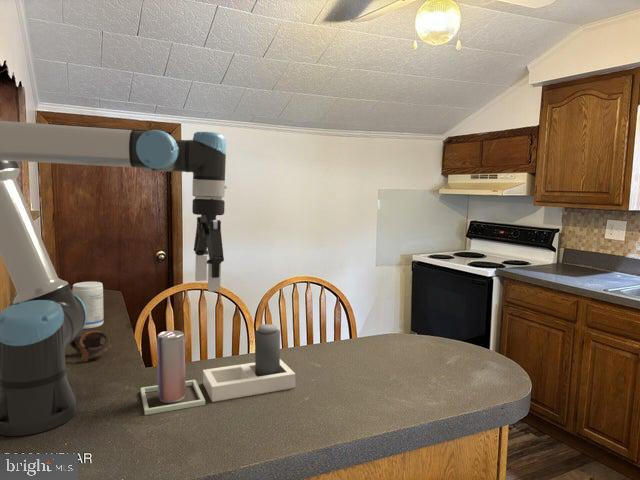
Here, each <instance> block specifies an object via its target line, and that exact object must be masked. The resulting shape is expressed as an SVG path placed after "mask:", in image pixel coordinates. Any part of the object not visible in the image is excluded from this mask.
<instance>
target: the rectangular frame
mask: <svg viewBox="0 0 640 480" xmlns="http://www.w3.org/2000/svg"><path fill="white" fill-rule="evenodd" d="M185 384H186V387H190V386H192V387H193V389H194V391H195V394H196V396H197V398H198V399H196V400H189V401H183V402H176V403H170V404H166V405H160V406H155V407H149V404H148V400H147V393H151V392H158V384H157V385H152V386H151V385H150V386H143V387H140V396H141V401H142V406H143V411H144V416H149V415H153V414H159V413H166V412H170V411H172V412H173V411H176V410H177V411H178V410H183V409H188V408H194V407H200V406H205V405H206V399H205V397H204V395H203V393H202V390H201V389H200V386H199V384H198V382H197V380H196V379H190V380H185ZM145 392H146V393H145Z"/></svg>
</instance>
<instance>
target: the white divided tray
mask: <svg viewBox="0 0 640 480" xmlns="http://www.w3.org/2000/svg"><path fill="white" fill-rule="evenodd" d="M202 385H203V386H204V389H205V390H206V393H207V394H208V396H209V398H210V400H211V402H212V403H215V402H220V401H227V400H231V399H237V398H245V397H249V396H250V397H251V396H254V395H255V396H256V395H262V394H267V393H272V392H278V391H284V390H289V389H290V390H292V389H296V373H295V372H294V371H293V370H292V369H291V368H290V367H289V366H288V365H287V364H286V363H285V362H284V361H283V360H282V359H281V358H280V373H278V374H272V375H265V376H259V377H257V376H256V374H255V362H250V363H249V362H248V363H242V364H234V365H227V366H221V367H214V368H213V367H212V368H207V369H203V370H202Z"/></svg>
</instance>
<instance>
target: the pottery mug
mask: <svg viewBox="0 0 640 480" xmlns="http://www.w3.org/2000/svg"><path fill="white" fill-rule="evenodd" d="M103 338H104V342H103V343H102V342H101V340H102V339H103ZM110 341H111V339H110V338H109V336H108V334H107V333H106V332H104V331H100V330H90V331H87V332H85V333H84V334H82V335H79V336H78V337H77V338H76V339H74V340H73V341H72V342H71V343H70V344H69V345H70V347H71V348H72V349H74V350H75V351H76V354H78V355H79V354H81V353H82V354H81V357H80V359H81V361H82V362H84V363H87V362H88V361H89V360H91V359H94V358H97V357H100V356H102V355H104V353H106V352H107V351H108V350H109V349H111V348H112V345H111V342H110Z"/></svg>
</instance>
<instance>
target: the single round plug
mask: <svg viewBox="0 0 640 480" xmlns="http://www.w3.org/2000/svg"><path fill="white" fill-rule="evenodd" d="M280 331H281V330H280V329H278V327H277V325H276V324H270V323H269V324H268V323H265V324H261V325H258V329H256V330H255V331H254V333H255V335H254V339H255V341H254V343H255V346H254V347H255V349H254V350H255V351H254V352H255V354H254V356H255V357H254V358H255V359H254V363H255V374H256V376H257V377H259V376H265V375H272V374H278V373H280V359H281V355H280V353H281V332H280Z"/></svg>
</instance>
